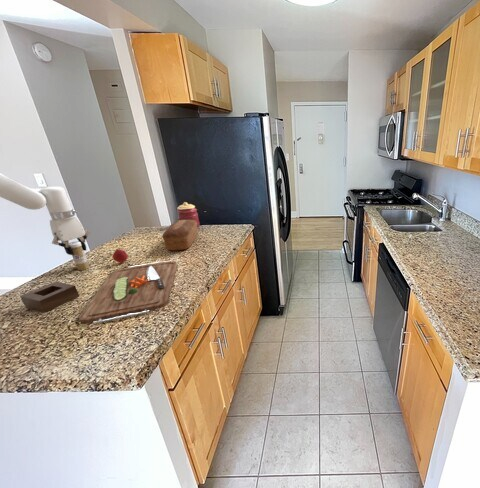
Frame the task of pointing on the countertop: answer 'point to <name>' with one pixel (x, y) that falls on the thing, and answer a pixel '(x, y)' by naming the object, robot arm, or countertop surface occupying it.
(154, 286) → the chopping board
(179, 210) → the kitchen canister
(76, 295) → the spice block
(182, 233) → the bread
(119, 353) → the countertop surface
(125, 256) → the red rounded lump
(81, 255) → the sprinkles bottle
